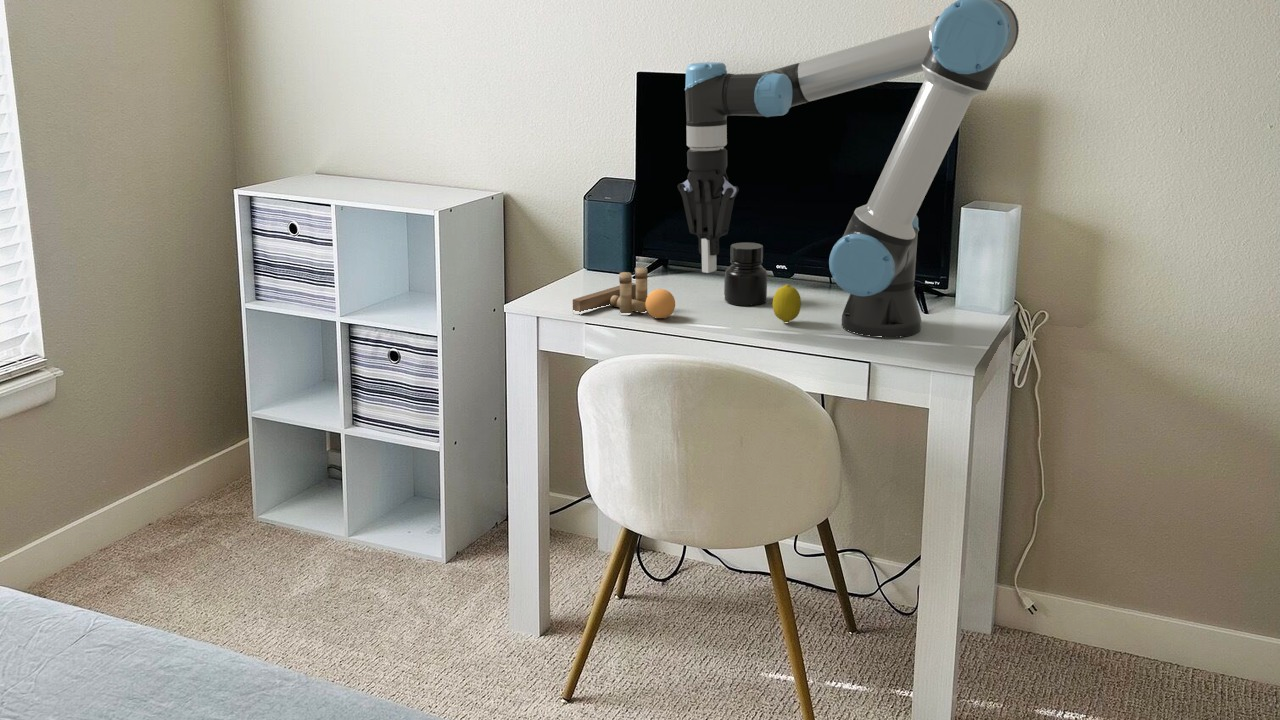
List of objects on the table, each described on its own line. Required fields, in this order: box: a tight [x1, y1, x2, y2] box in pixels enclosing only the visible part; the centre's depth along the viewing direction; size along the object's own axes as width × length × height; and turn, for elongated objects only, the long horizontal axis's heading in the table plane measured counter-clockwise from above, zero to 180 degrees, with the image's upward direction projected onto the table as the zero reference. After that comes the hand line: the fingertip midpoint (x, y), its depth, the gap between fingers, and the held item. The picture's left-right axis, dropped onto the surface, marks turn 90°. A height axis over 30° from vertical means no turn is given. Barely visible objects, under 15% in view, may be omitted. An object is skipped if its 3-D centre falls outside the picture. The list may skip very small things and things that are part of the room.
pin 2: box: [634, 267, 649, 302], centre depth 240 cm, size 2×2×8 cm
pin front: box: [610, 295, 648, 313], centre depth 240 cm, size 2×2×8 cm
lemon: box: [772, 283, 802, 323], centre depth 230 cm, size 6×6×8 cm
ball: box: [645, 288, 676, 319], centre depth 234 cm, size 6×6×6 cm
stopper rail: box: [572, 282, 636, 312], centre depth 244 cm, size 2×18×3 cm, turn 141°
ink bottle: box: [723, 242, 768, 307], centre depth 245 cm, size 10×9×12 cm
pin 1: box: [618, 271, 633, 313], centre depth 237 cm, size 2×2×8 cm
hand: (709, 271), depth 225 cm, fingers closed
